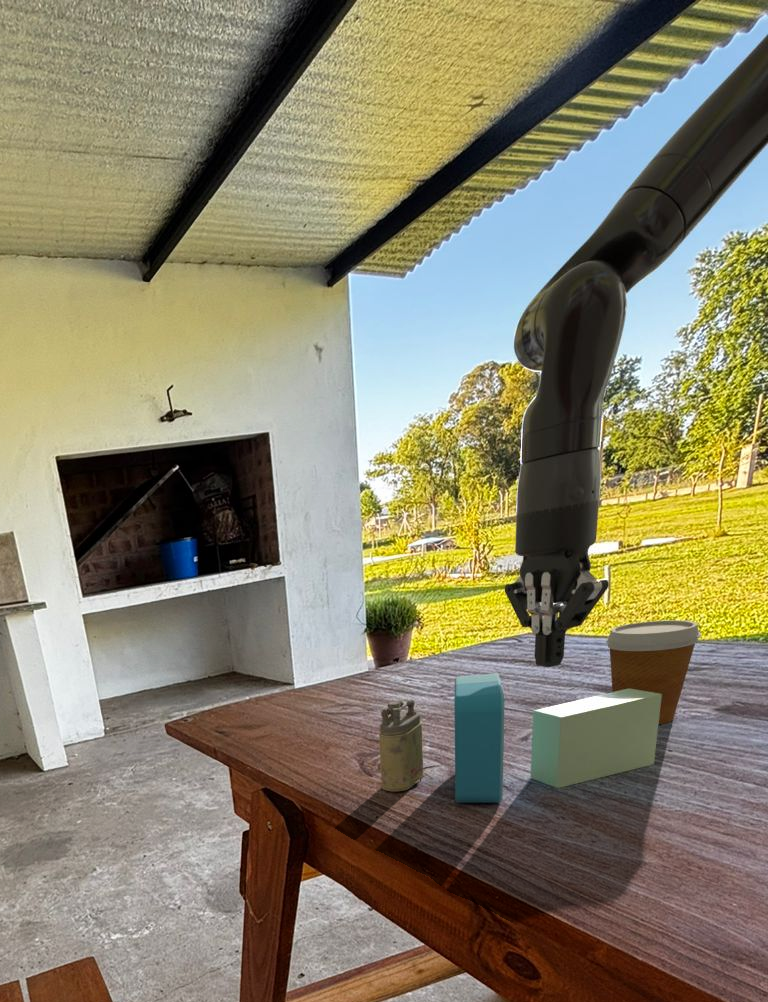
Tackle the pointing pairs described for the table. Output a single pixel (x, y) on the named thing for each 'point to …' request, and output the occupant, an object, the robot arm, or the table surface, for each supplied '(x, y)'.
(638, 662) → the disposable coffee cup
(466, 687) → the data package
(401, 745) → the lighter
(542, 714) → the tissue box
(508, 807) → the table surface
